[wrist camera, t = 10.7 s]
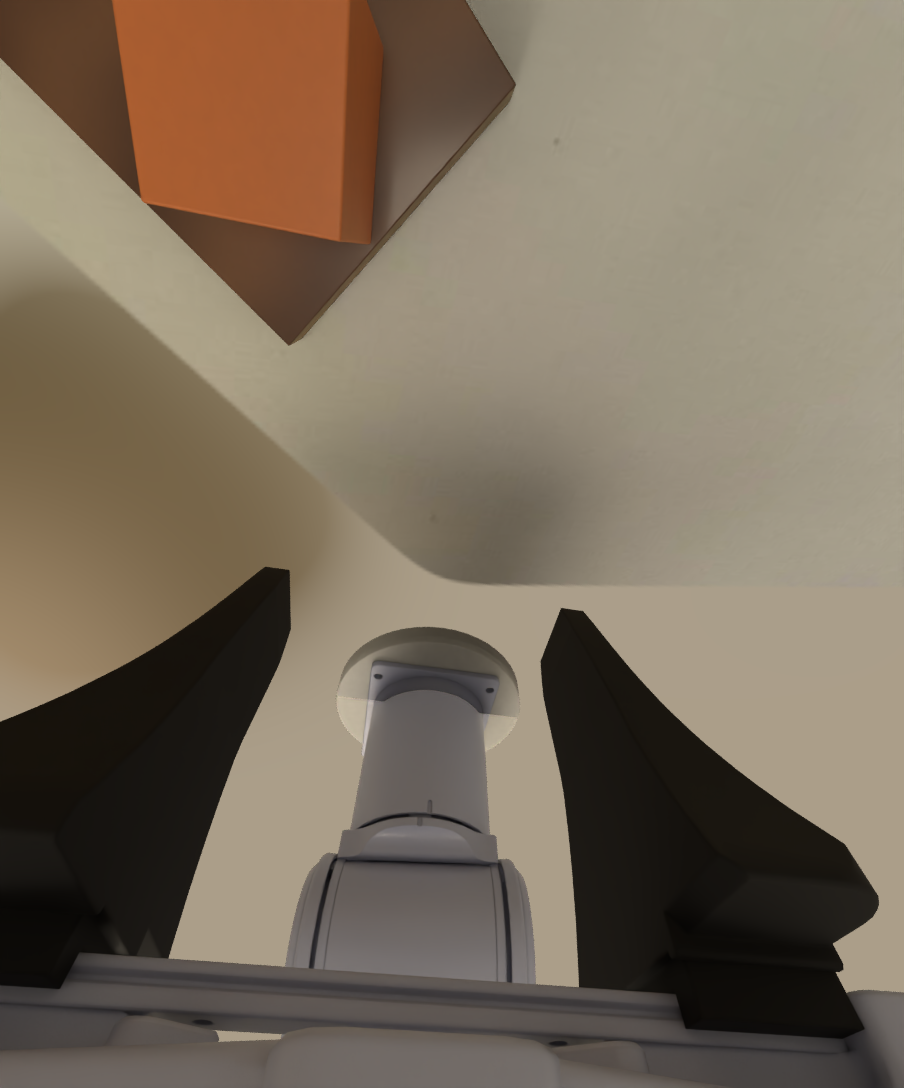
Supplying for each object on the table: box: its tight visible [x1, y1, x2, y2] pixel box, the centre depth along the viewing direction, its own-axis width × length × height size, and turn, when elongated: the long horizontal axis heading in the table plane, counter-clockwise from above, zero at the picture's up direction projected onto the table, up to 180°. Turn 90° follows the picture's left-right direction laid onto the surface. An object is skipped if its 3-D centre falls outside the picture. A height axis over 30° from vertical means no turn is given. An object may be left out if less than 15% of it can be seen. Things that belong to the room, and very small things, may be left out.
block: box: [112, 0, 383, 244], centre depth 11 cm, size 4×4×4 cm
